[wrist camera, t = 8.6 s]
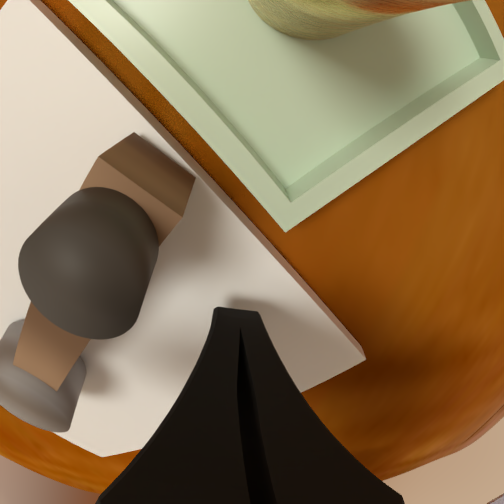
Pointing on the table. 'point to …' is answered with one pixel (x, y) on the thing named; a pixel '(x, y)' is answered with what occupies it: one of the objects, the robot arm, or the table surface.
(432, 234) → the table surface
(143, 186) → the crank
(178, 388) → the board
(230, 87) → the tray
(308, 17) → the pin
